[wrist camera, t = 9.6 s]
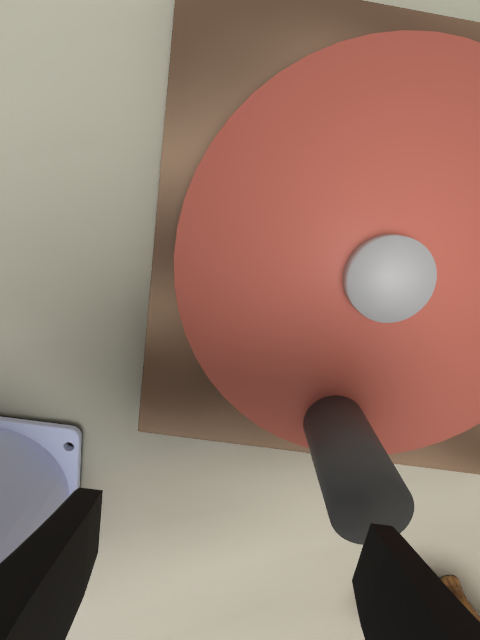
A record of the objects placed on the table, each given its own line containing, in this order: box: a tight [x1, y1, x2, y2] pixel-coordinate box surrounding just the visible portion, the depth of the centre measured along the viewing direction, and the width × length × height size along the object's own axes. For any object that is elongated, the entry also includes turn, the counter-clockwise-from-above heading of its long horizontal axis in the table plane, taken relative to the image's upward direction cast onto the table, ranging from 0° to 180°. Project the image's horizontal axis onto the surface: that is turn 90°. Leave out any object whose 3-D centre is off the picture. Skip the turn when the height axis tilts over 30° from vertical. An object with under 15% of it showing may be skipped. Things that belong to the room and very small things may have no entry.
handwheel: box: [174, 30, 480, 545], centre depth 13 cm, size 16×16×6 cm
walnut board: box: [138, 0, 480, 474], centre depth 17 cm, size 18×18×2 cm
